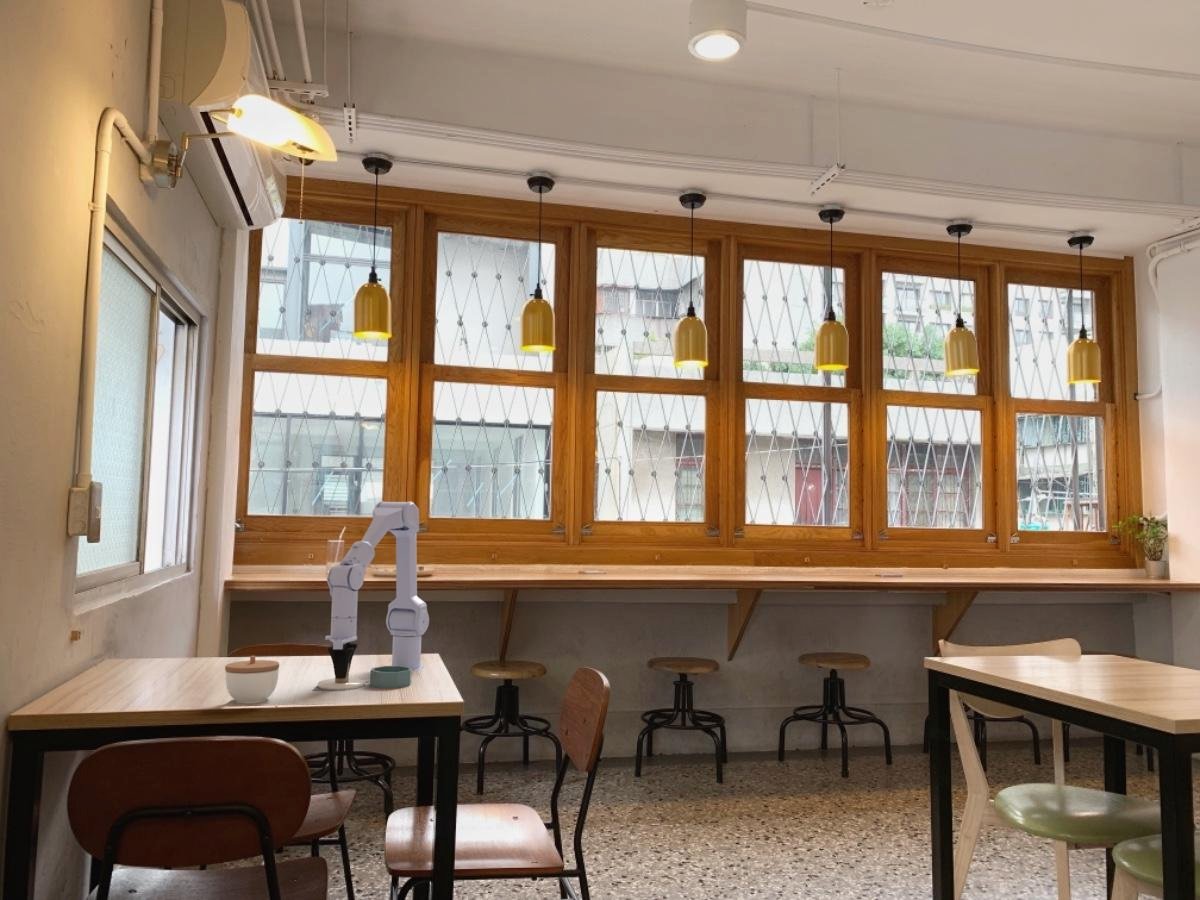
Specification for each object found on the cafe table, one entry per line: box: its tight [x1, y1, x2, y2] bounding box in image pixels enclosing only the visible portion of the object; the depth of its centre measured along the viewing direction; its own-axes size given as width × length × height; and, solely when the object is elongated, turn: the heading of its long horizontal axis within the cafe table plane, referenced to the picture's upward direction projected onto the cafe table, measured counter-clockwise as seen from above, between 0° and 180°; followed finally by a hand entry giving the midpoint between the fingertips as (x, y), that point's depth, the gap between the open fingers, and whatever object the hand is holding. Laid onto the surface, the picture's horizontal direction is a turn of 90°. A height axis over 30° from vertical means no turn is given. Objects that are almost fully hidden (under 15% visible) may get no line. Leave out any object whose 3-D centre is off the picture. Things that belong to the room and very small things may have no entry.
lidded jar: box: [224, 655, 280, 704], centre depth 193 cm, size 11×11×9 cm
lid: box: [317, 664, 366, 691], centre depth 209 cm, size 10×10×5 cm
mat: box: [311, 680, 370, 692], centre depth 209 cm, size 11×11×1 cm
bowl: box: [369, 665, 413, 689], centre depth 212 cm, size 9×9×4 cm
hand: (341, 676), depth 209 cm, fingers closed on lid, 3 cm apart
